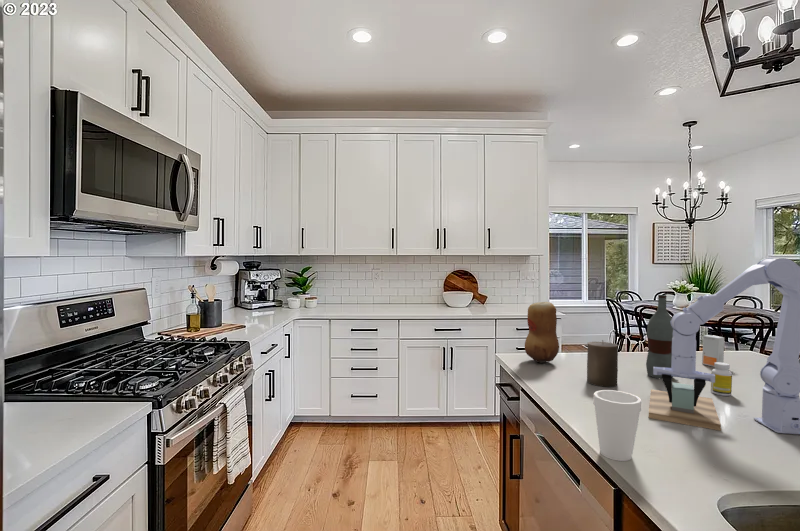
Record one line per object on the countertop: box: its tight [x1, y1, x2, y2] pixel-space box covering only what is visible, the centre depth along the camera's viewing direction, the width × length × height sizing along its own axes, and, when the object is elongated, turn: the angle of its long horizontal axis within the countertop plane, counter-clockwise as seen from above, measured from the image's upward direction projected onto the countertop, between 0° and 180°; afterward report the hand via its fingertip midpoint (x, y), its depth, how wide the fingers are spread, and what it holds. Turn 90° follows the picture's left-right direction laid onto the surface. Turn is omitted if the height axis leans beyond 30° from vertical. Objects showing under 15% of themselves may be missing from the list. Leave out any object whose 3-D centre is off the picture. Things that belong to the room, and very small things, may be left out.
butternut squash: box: [524, 301, 560, 364], centre depth 179 cm, size 14×13×25 cm
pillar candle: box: [586, 339, 619, 388], centre depth 151 cm, size 10×10×15 cm
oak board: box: [648, 388, 722, 432], centre depth 125 cm, size 24×16×2 cm, turn 149°
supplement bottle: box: [710, 362, 733, 397], centre depth 140 cm, size 5×5×10 cm
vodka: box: [645, 294, 674, 380], centre depth 160 cm, size 9×9×30 cm
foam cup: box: [593, 389, 642, 462], centre depth 97 cm, size 10×9×13 cm
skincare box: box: [701, 334, 725, 368], centre depth 176 cm, size 6×4×12 cm
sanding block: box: [672, 381, 694, 414], centre depth 122 cm, size 7×5×6 cm
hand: (682, 403), depth 123 cm, fingers closed on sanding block, 5 cm apart
